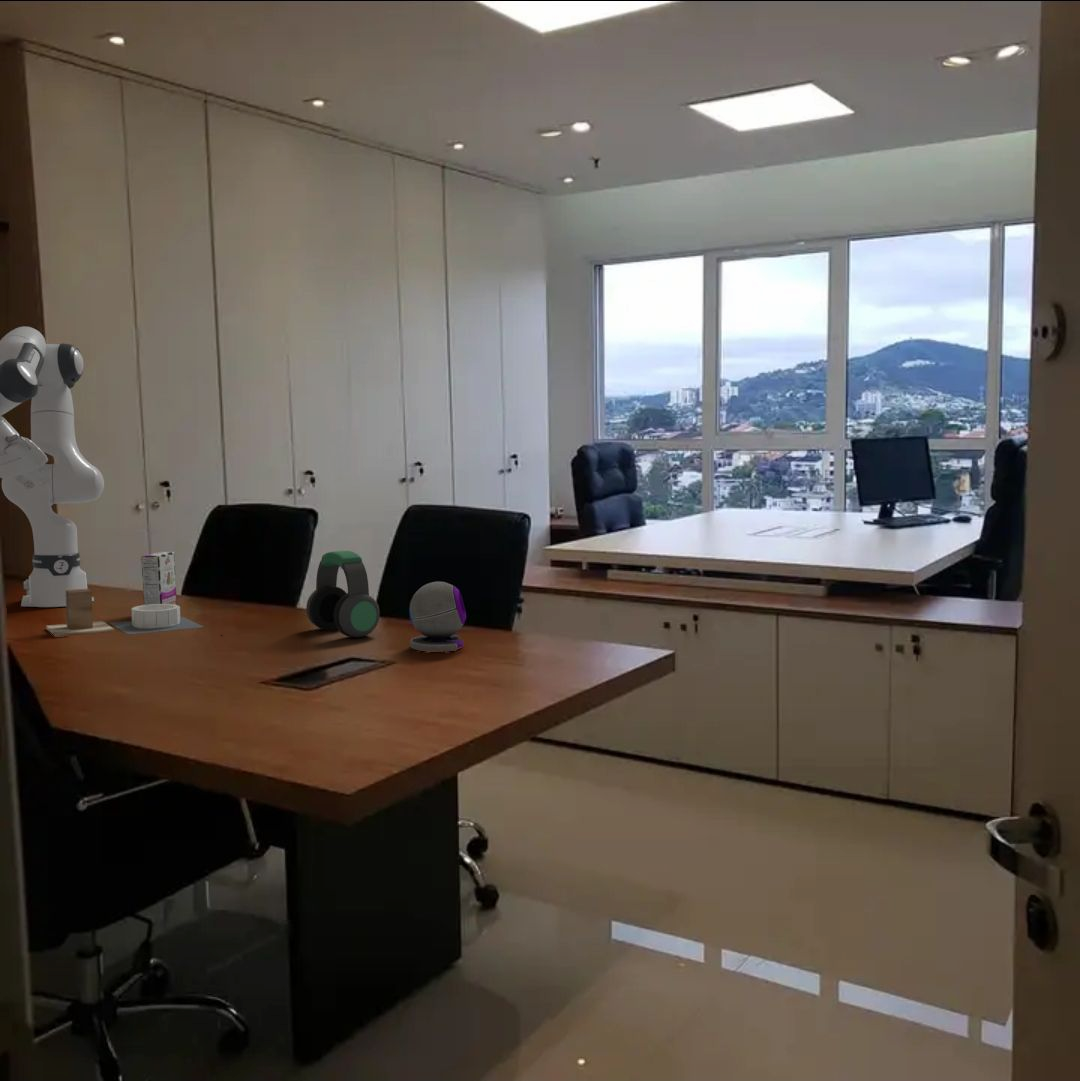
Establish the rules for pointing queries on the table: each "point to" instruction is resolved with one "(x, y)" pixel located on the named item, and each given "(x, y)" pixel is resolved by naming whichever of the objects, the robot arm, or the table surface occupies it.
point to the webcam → (437, 617)
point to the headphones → (343, 597)
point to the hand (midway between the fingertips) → (40, 485)
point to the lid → (78, 616)
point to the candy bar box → (159, 578)
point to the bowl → (155, 616)
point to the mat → (129, 629)
